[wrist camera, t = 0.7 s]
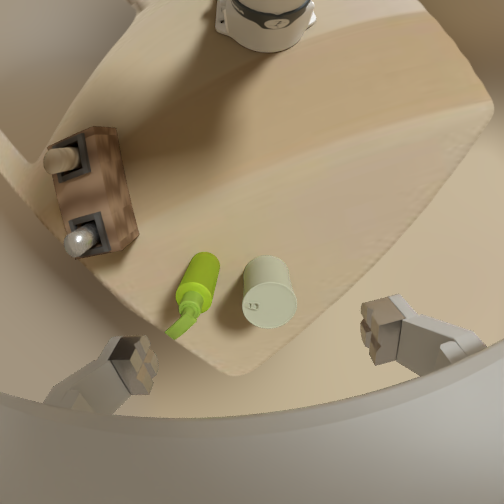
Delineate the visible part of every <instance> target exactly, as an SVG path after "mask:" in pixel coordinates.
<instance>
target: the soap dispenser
mask: <svg viewBox="0 0 504 504" xmlns="http://www.w3.org/2000/svg"><path fill="white" fill-rule="evenodd" d="M219 269H220V264H219V261H218V259H217V258H216V257H215V256H214V255H213V254H211V253H208V252H200V253H198V254H196V255H195V256H194V257H193V258H192V260H191V262H190V264H189V266H188V268H187V270H186V272H185V274H184V277H183V279H182V281H181V283H180V285H179V287H178V289H177V291H176V301H177V303H178V305H179V313H180V314H181V317H180V318H179V319H178V320H177V321H176V322H175V323H174V324H173V325H172V326H170V327H169V328H168V329H167V330H166V331H165V333H166V334H167V335H168V336H170V337H171V338H172V339H174V340H175V339H177V338H178V337H180V336H181V335H182V334H183V333H185V332H186V331H187V330H188V329H189V328H190V327H191V326H192V325H193V324H194V323H195V322H196V321H197V319H196V318H198V317H199V315H200V314H201V313H203V312H205V311H207V310H208V309H209V308H210V306H211V303H212V299H213V295H214V290H215V286H216V282H217V278H218V274H219Z"/></svg>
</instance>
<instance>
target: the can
mask: <svg viewBox="0 0 504 504" xmlns="http://www.w3.org/2000/svg"><path fill="white" fill-rule="evenodd" d="M243 280H244V289H243V301H242V311H243V314H244V316H245V317H246V319H247V320H248V321H249V322H250V323H251V324H253V325H255V326H257V327H260V328H266V329H271V328H277V327H280V326H282V325H284V324H286V323H287V322H288V321H289V320H291V318H292V317H293V316H294V314H295V312H296V308H297V300H296V297H295V295H294V292H293V288H292V285H291V281H290V277H289V270H288V268H287V266H286V264H285V263H284V262H283V261H282V260H280V259H279V258H277V257H274V256H269V255H265V256H259V257H257V258H255V259H253V260H252V261H250V262H249V263H248V265H247V266H246V268H245V270H244V273H243Z"/></svg>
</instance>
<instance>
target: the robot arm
mask: <svg viewBox="0 0 504 504" xmlns="http://www.w3.org/2000/svg"><path fill="white" fill-rule="evenodd" d="M313 9H314V3H313V2H312V1H311V0H217V11H216V24H215V29H216V31H217V32H219V33H221V34H224V35H227V36H230V37H232V38H233V39H234V40H235V41H237V42H238V43H239V44H241V45H242V46H244V47H246V48H248V49H251V50H254V51H258V52H278V51H282V50H285V49H287V48H290V47H291V46H293V45H294V44H296V43H297V42H298V41H299V40H300V38H301V37H302V35H303V33H304V32H305V30H306V29H307V28H308V27H310V26H312V25H313V24H314V23H315V22H316V16H315V14H314V12H313ZM221 21H224V23H220V22H221ZM361 314H362V316H363V318H364V319H363V320H362V322H361V323H360V324H361V326H360V330H361V337H362V340H363V343H364V345H365V346H366V347H368V348H369V355H370V357H371V359H372V361H373V363H374V365H375V366H376V365H380V364H384V363H387V362H391V361H395V360H396V361H397V362H398V363H400V364H401V365H403V366H405V367H406V368H408V369H410V370H411V371H413V372H414V373H416V374H418V375H419V376H420V377H417V378H414V379H411V380H408V381H405V382H403V383H399V384H396V385H393V386H390V387H387V388H384V389H380V390H377V391H373V392H370V393H366V394H362V395H359V396H354V397H350V398H346V399H342V400H338V401H333V402H328V403H324V404H318V405H314V406H308V407H302V408H297V409H290V410H283V411H276V412H268V413H261V414H251V415H240V416H227V417H208V418H153V417H152V418H151V417H134V416H121V415H112V414H113V413H114V412H115V411H116V410H117V409H118V408H119V407H120V406H121V405H122V404H123V403H124V402H125V401H126V400H127V399H128V398H129V397H130V396H131V395H149V394H150V391H151V389H152V386H153V381H152V378H153V377H154V376H156V375H157V372H158V360H157V356H156V354H155V352H154V351H152V350H151V349H150V348H149V347H150V341H149V339H148V338H147V336H145V335H136V336H115V337H111V338H110V340H109V342H108V343H107V345H106V346H105V348H104V349H103V351H102V353H101V354H100V356H99V357H98V359H97V360H96V361H95V360H94V361H92V362H91V363H89V364H87V365H86V366H84V367H83V368H81V369H80V370H78V371H77V372H75V373H74V374H72V375H70V376H69V377H67V378H66V379H64V380H63V381H61V382H60V383H58V384H56V385H55V386H53V388H52V389H51V391H50V393H49V394H48V396H47V397H46V399H45V400H44V402H43V403H39V402H35V401H31V400H27V399H23V398H20V397H15V396H12V395H9V394H5V393H2V392H0V504H504V339H502V340H500V341H498V342H497V343H495V344H493V345H491V346H489V347H487V346H486V345H485V344H484V343H483V342H482V341H481V340H480V338H479V337H478V336H477V335H476V334H475V333H474V332H473V331H471V330H468V329H465V328H462V327H458V326H456V325H453V324H450V323H447V322H444V321H441V320H438V319H435V318H432V317H429V316H426V315H423V314H421V315H418V314H417V313H416V312H415V311H414V309H413V308H412V307H411V306H410V305H409V304H408V303H407V302H406V301H405V299H404V298H403V297H402V296H401V295H400V294H395V295H392V296H388V297H385V298H381V299H377V300H374V301H369V302H365V303H362V305H361Z"/></svg>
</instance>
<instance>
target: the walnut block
mask: <svg viewBox="0 0 504 504" xmlns="http://www.w3.org/2000/svg"><path fill="white" fill-rule="evenodd" d="M77 146H79V152H80V157H81V163H82V167H81V168H78V169H73V170H68V171H64V172H59V173H55V174H52V176H53V181H54V186H55V190H56V195H57V199H58V203H59V207H60V211H61V215H62V218H63V222H64V225H65V229H66V232H67V235H68V234H70V233H72V232H73V231H75V230H77V229H78V228H80V227H82V226H84V225H85V224H87V223H89V222H91V221H93V220H95V222H96V226H97V229H98V233H99V236H100V241H99V242H98V243H96V244H95V245H94V246H92V247H91V248H90V249H88V250H87V251H86V252H84V253H83V254H82V255H80V256H79V257H75V259H80V258H85V257H90V256H95V255H100V254H105V253H111V252H116V251H121V250H123V249H124V248H125V247H126V246H127V245H128V244H129V243H130V242H132V241H133V240H134V239H135V238H136V237H137V236H138V235H139V231H138V227H137V224H136V220H135V216H134V212H133V208H132V204H131V200H130V195H129V191H128V187H127V182H126V178H125V173H124V168H123V163H122V158H121V153H120V148H119V142H118V136H117V130H116V128H111V127H97V126H93V127H90V128H88V129H85V130H83V131H81V132H78V133H76V134H74V135H72V136H69V137H67V138H65V139H63V140H61V141H59V142H56V143H54V144H52V145H50V146H48V147H47V149H48V151H49V150H50V149H56V148H66V147H77Z"/></svg>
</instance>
